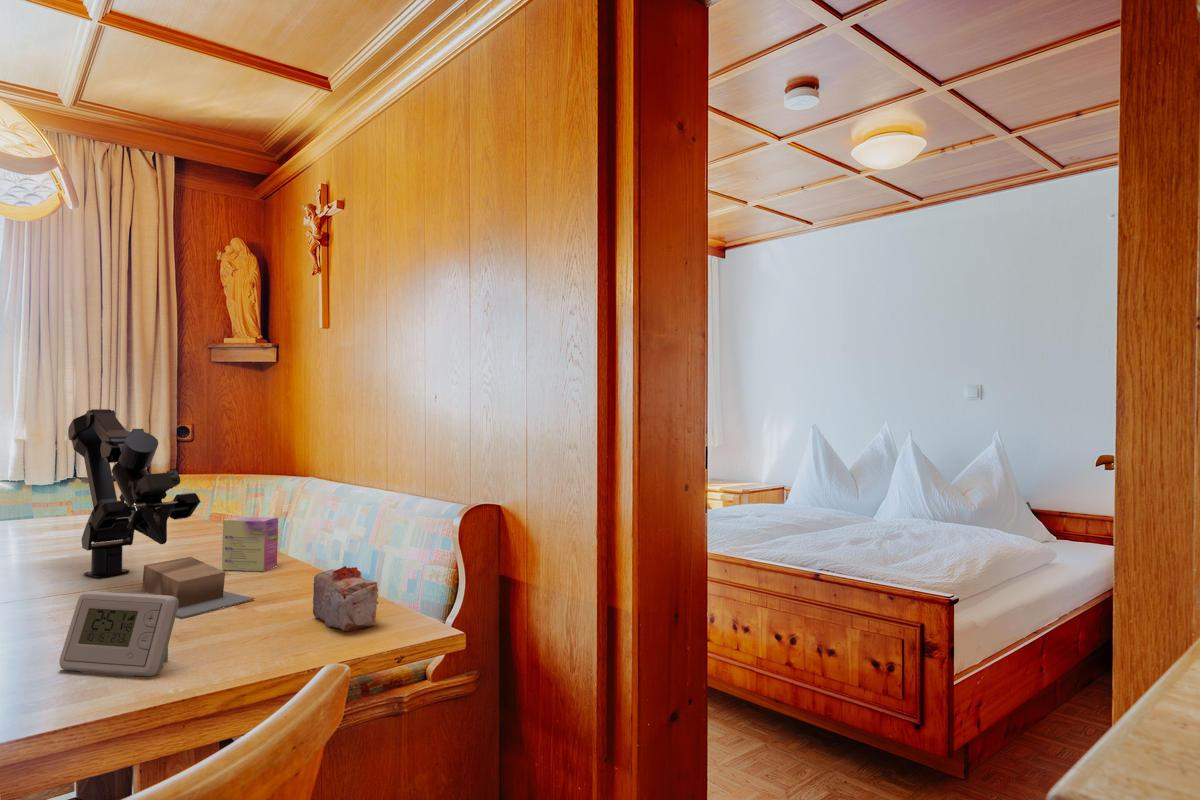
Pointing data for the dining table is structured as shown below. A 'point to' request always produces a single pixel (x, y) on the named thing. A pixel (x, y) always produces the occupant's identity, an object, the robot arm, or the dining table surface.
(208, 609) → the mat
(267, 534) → the box
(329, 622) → the food item
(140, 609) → the digital clock
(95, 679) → the dining table surface
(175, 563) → the walnut block
